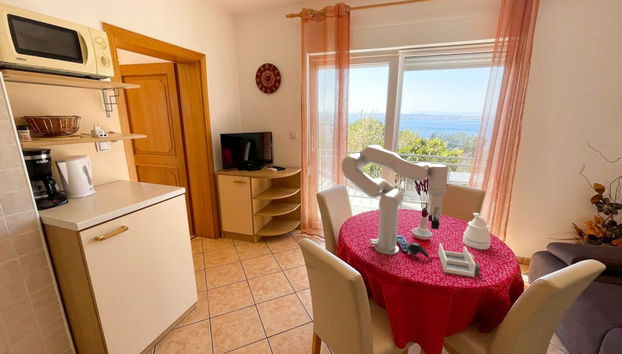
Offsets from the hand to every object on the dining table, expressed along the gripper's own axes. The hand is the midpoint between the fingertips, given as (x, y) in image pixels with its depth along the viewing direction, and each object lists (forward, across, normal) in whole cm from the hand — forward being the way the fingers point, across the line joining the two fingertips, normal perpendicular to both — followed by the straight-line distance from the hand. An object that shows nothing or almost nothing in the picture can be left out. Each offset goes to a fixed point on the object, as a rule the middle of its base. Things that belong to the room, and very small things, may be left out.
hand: (433, 224), depth 120 cm
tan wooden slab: (+19, -4, +19) cm, 27 cm away
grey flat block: (+19, +4, +19) cm, 27 cm away
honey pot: (+20, -28, +28) cm, 44 cm away
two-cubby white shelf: (+19, 0, +11) cm, 22 cm away
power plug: (+21, 0, -1) cm, 21 cm away
